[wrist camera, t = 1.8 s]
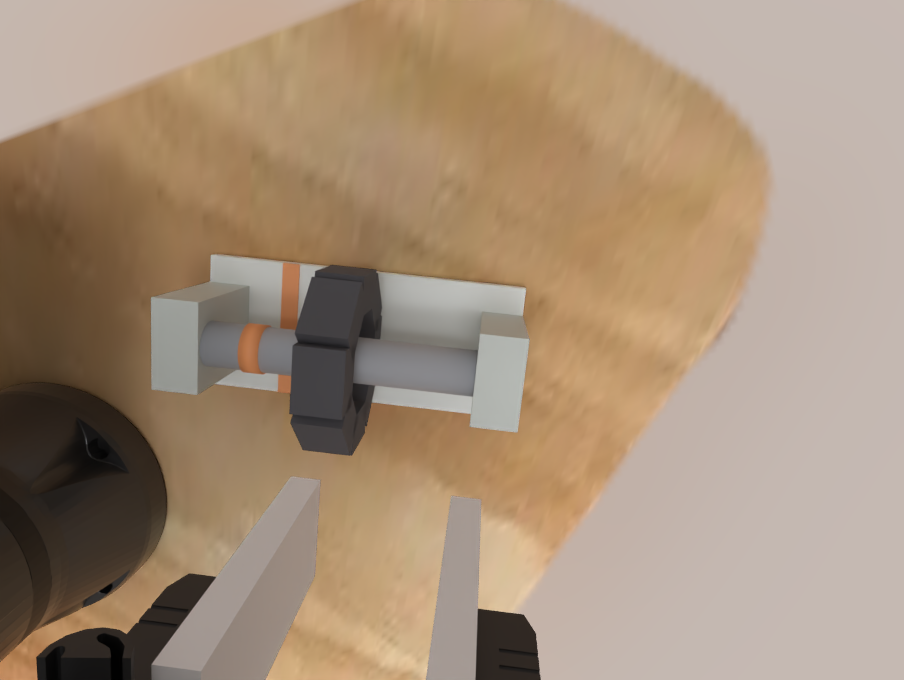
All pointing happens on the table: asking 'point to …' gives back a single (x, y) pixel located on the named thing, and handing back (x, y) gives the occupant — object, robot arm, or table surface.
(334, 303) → the o-ring
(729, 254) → the table surface
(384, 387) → the pipe rig
